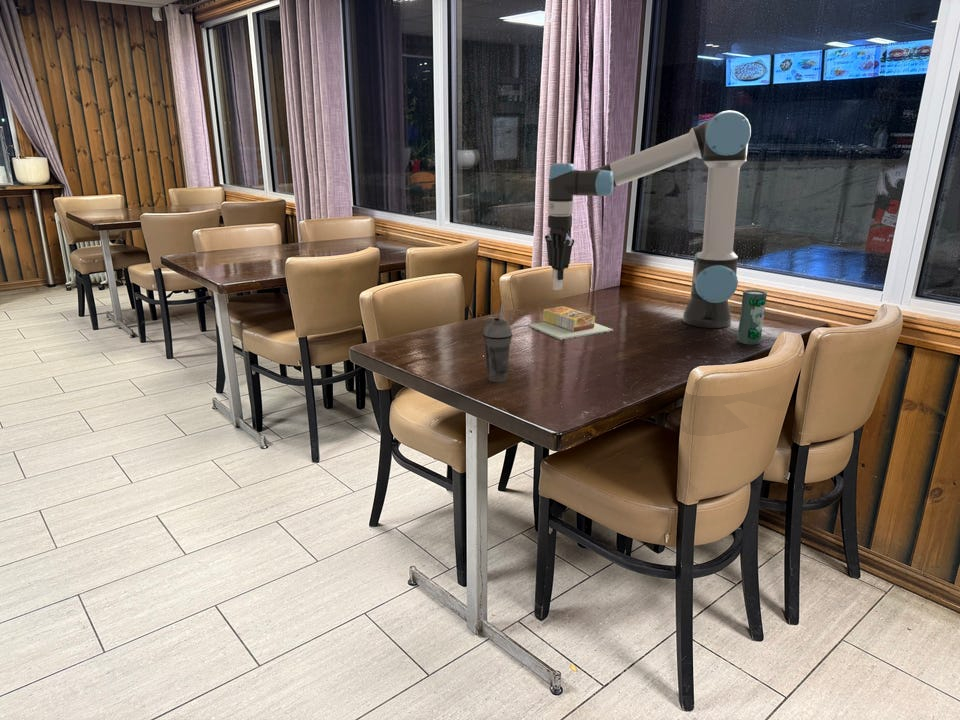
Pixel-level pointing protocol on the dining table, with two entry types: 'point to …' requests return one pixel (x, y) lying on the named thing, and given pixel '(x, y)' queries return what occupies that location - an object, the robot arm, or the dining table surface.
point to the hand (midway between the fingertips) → (557, 289)
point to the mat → (565, 333)
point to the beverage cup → (497, 347)
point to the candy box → (568, 318)
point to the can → (751, 316)
